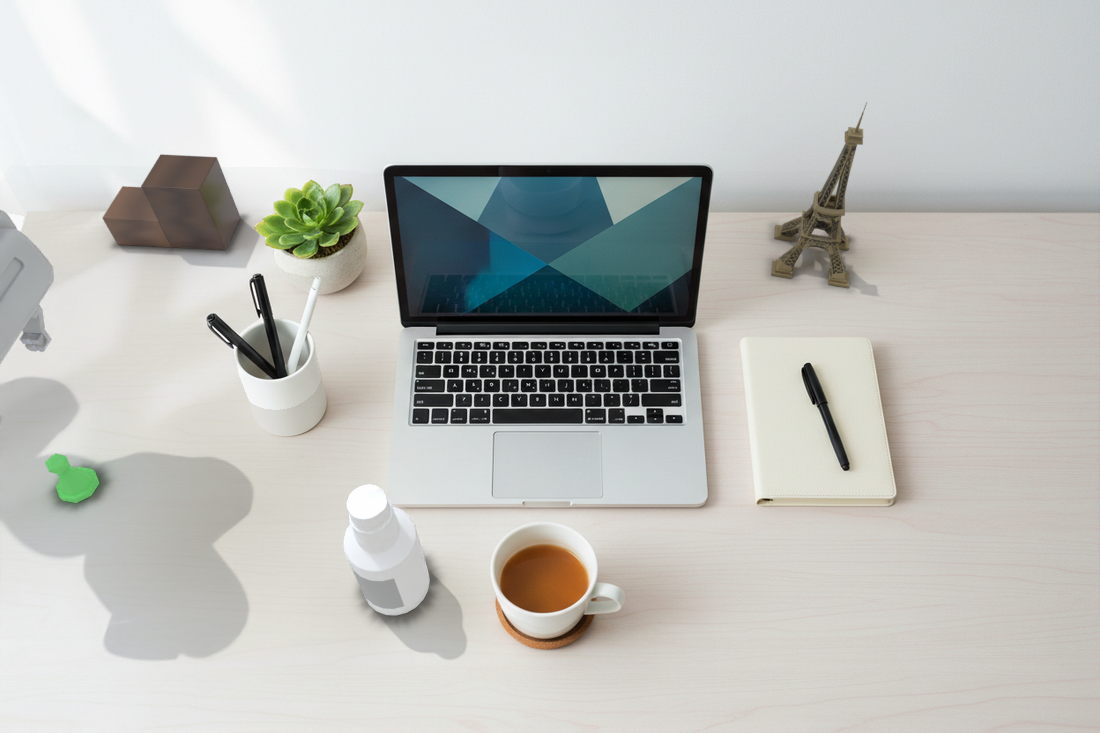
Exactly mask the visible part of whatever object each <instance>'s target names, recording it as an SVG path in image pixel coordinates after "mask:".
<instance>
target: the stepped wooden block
mask: <svg viewBox="0 0 1100 733" xmlns="http://www.w3.org/2000/svg"><path fill="white" fill-rule="evenodd" d="M241 219H242V217H241V214H240V211H239V209H238V207H237V205H236V202H235V200H234V197H233V194H232V192H231V189H230V187H229V184H228V182H227V179H226V176H225V174H224V172H223V169H222V166H221V164H220V161H219V159H218V157H217V156H202V155H180V154H159V155H158V158H157V159H156V161H155V163H154V164H153V166H152V167H151V169H150V171H149V173H148V174H147V176H146V177H145V179H144V181H143V182H142V184H141V185H140V186H127V185H126V186H125V185H123V186H121V188H120V189H119V191H118V192H117V194H116V195H115V197H114V199H113V201H112V202H111V204H110V205H109V207H108V208H107V210H106V211H105V212H104V215H103V216H102V221H103V222H104V224H105V225H106V227H107V229H108V231H109V233H110V235H111V236H112V238H113V240H114V241H115V243H116V244H117V245H121V246H137V247H138V246H139V247H141V246H142V247H156V248H157V247H161V248H179V249H198V250H218V251H226V250H227V249H228V246H229V245H230V243H231V240H232V238H233V236H234V234H235V231H236V230H237V227H238V225H239V223H240V221H241Z"/></svg>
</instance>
